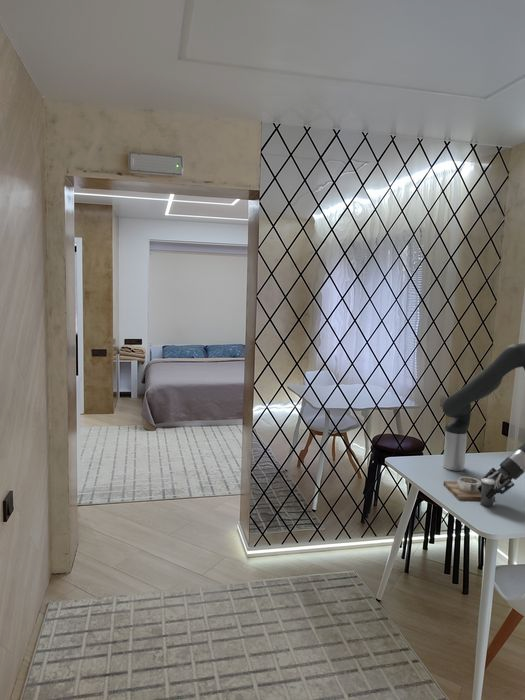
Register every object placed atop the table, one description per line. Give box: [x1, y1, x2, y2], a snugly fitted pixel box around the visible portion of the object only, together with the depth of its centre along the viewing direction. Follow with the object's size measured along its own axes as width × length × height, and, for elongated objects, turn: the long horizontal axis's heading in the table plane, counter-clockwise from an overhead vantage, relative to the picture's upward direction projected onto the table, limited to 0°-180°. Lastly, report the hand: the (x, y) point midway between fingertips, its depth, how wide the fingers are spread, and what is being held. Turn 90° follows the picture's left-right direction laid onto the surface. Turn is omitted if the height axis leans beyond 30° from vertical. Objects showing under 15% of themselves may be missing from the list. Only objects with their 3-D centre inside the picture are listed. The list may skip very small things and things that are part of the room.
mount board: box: [443, 480, 496, 502], centre depth 201 cm, size 16×14×2 cm
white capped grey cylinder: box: [480, 477, 496, 508], centre depth 189 cm, size 5×5×10 cm
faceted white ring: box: [456, 476, 482, 493], centre depth 201 cm, size 9×9×4 cm
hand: (483, 493), depth 189 cm, fingers open, 6 cm apart
